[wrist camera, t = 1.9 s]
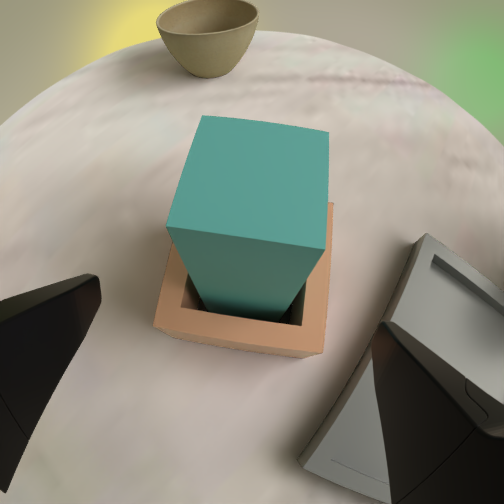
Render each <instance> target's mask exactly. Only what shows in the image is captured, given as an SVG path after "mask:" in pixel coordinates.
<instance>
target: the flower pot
mask: <svg viewBox="0 0 504 504" xmlns="http://www.w3.org/2000/svg"><path fill="white" fill-rule="evenodd" d="M258 17H259V10H258V8H257V7H256V6H255V5H254V4H252V3H250V2H248V1H245V0H188V1H185V2H182V3H179V4H176V5H174V6H172V7H170V8H168V9H167V10H165V11H164V12H162V13H161V14H160V15H159V17H158V18H157V21H156V24H157V28H158V30H159V33H160V35H161V37H162V39H163V41H164V43H165V45H166V46H167V48H168V50H169V51H170V52H171V54H172V55H173V56H174V58H175V59H176V60H177V61H178V62H179V63H180V64H181V65H182V66H183V67H184V68H185V69H186V70H187V71H189V72H190V73H191V74H193V75H194V76H197V77H202V78H214V77H219V76H222V75H225V74H227V73H229V72H230V71H231V70H232V69H233V68H234V67H235V66H236V64H237V63H238V62H239V61H240V59H241V58H242V56H243V55H244V53H245V52H246V50H247V48H248V46H249V44H250V42H251V40H252V38H253V35H254V33H255V30H256V26H257V23H258Z"/></svg>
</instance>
